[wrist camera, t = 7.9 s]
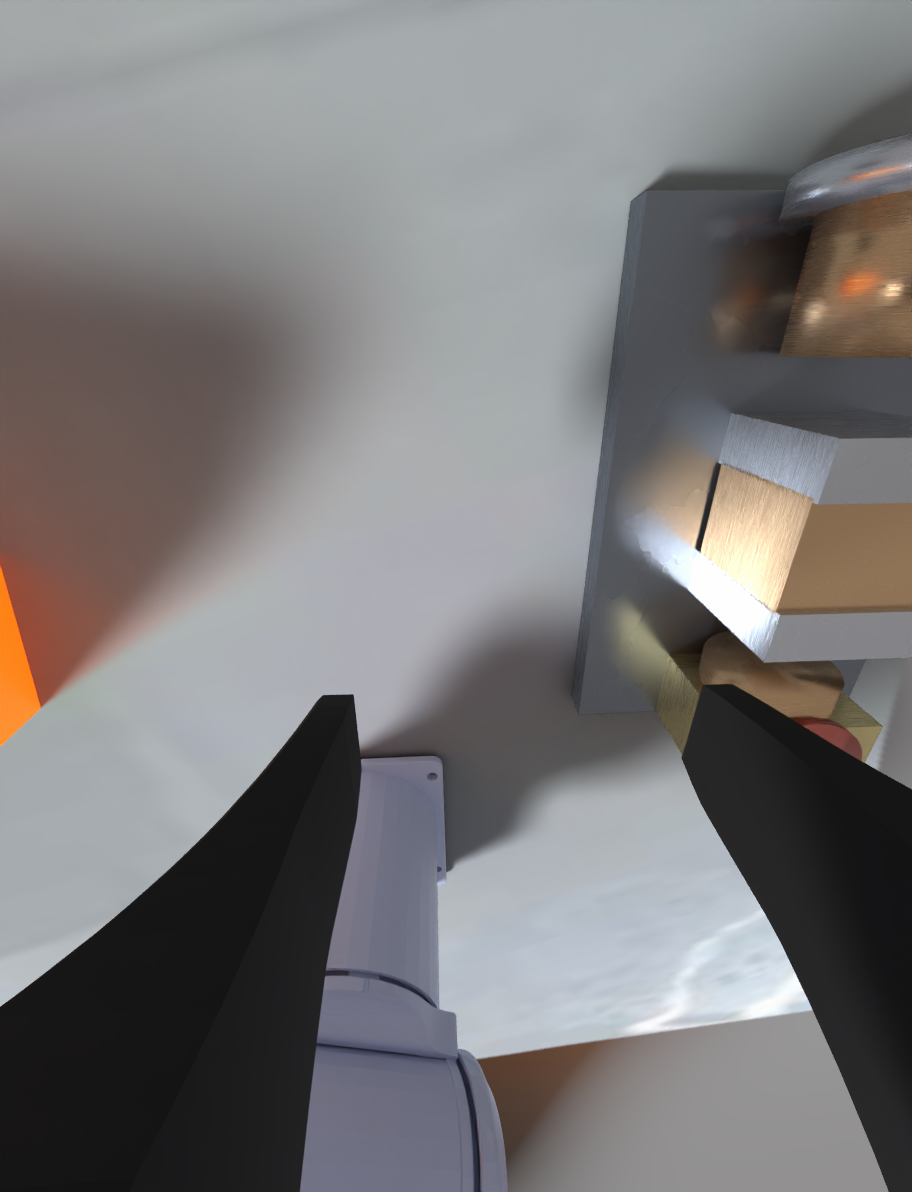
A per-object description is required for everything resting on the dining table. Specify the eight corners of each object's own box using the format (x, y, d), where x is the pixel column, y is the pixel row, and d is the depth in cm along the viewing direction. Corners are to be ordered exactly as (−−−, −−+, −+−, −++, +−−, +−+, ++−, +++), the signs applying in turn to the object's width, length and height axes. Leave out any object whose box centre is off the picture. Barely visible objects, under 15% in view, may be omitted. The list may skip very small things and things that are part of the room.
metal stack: (823, 694, 23) (951, 809, 17) (570, 705, 23) (617, 826, 17) (1028, 199, 15) (1407, 109, 9) (630, 201, 14) (765, 108, 9)
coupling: (809, 586, 19) (919, 657, 15) (688, 589, 19) (764, 662, 15) (873, 411, 16) (1033, 435, 12) (730, 412, 16) (840, 438, 12)
